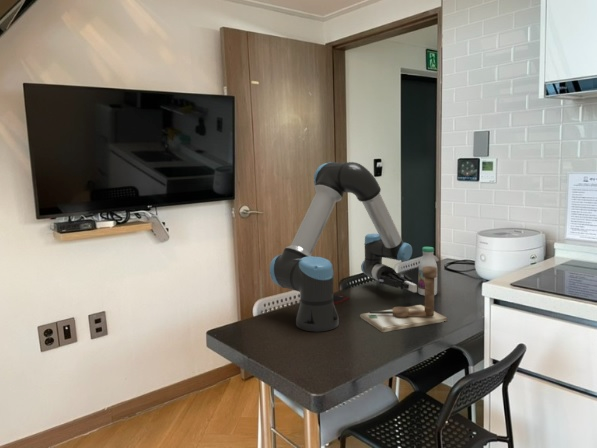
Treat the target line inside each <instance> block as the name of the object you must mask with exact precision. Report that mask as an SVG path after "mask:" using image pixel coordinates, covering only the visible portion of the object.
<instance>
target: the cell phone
mask: <svg viewBox="0 0 597 448" xmlns="http://www.w3.org/2000/svg"><path fill="white" fill-rule="evenodd" d="M349 298H350V297H349V296H346V295H345V296H344V295H341V294H336V293H333V303H334V306H335V305H337V304H339V303H341V302H344V301H347V300H349Z"/></svg>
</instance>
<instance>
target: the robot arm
mask: <svg viewBox="0 0 597 448" xmlns="http://www.w3.org/2000/svg"><path fill="white" fill-rule="evenodd" d="M313 183H314V188H313V189H314V191H315V194H314V196H313V198H312V200H311V202H310V205H309V207H308V209H307V211H306V213H305V215H304V218H303V219H302V221H301V223H300V225H299V227H298V230H297V232H296V234H295V236H294V238H293V240H292V242H291V244H290V245H289V246H286V247H284V249H283V251H282V253H281V254H278V255H276V256H275V257H273V259H272V260H271V262H270V265H269V275H270V279H271V280H272V282H273V283H274V284H275V285H277V286H279V287H281V288H283V289H288V290H293V291H295V292H299V296H300V300H299V301H300V302H299V303H300V304H299V307H298V311H297V314H296V318H295V324H296V325H295V326H296V327H297V328H298V329H301V330H303V331H307V332H327V331H331V330H333V329H335V328H337V327H338V326H339V323H340V322H339V321H340V319H339V318H340V317H339V315H338V312H337V309H336V306H335V305H334V303H333V295H334V268H333V263H332V262H331V260H329V259H327V258H324V257H321V256H312V254H313V252H314V250H315V247H316V246H317V243H318V242H319V239H320V238H321V235H322V233H323V231H324V228H325V226H326V225H327V221H328V220H329V218H330V216H331V213H332V211H333V209H334V207H335V206H336V203H337V202H341V200H342V199H343V197H344V195H345V193H350V194H353V195H355V196H356V199H357V200H358V201H359V202H360V203H361V202H362V204H363V206H364V209H365V210H366V212H367V214H368V217H369V219H370V220H371V222H372V224H373V226H374V227H375V230H376V232H377V233H367V234H365V236H364V244H363V245H364V260H363V261H362V263H361V264H360V265H361V266H360V270H361V271H362V273H363V274H364V275H366V277H368V278H371V279H372V280H373V279H374V280H376V281H378V282H379V284H383V285H386V286H389V287H393V288H395V289H399V288H400V290H401V291H403V290H404V289H406V290H408V291H410V292H412V293H418V285H417V284H416V283H414V282H413V278H411V277H410V276H409V275H408V274H407V273H404V274H400V273H397V272H396V270H395V269H394V268H393V267H390V266H388V265H386V264H383V258H386V259H390V260H396V261H403V262H406V261H409V260H410V259H411V257H412V254H413V247H412V245H411V244H409V243H407V242H404V240H403V239H402V236H401V235H400V233H399V231H398V229H397V227H396V224H395V222H394V220H393V219H392V216H391V214H390V211H389V210H388V207H387V205H386V203H385V201H384V200H383V196H382V195H381V191H382V190H381V187H380V185H379V182H378V181H377V178H375V176H374V174H372V173H371V172H370V170H369V169H368V168H366V167H365V166H364V165H362V164H361V163H358V162H353V161H348V162H347V161H346V162H336V161H335V162H334V161H329V162H326V163H322V164H321V165H319V166H318V168H316V170H315V172H314V176H313Z"/></svg>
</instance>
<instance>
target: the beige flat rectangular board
mask: <svg viewBox="0 0 597 448" xmlns="http://www.w3.org/2000/svg"><path fill="white" fill-rule="evenodd" d="M405 307H406V308H408V309H409V310H421V311H425V305H422V304H415V305H411V306H405ZM383 311H393V308H391V309H385V310H383ZM359 316H360V318H361V319H362V320H363V321H365V322H367V323H368V324H370V325H371V326H372V327H373V328H375V329H377V330H378V331H380V332H381V333H387V332H391V331H397V330H403V329H409V328H415V327H421V326H426V325H434V324H439V323H444V321H445V322H448V317H446V316H445V315H443V314H441V313H438V312H436V311H435V310H434V316H410V315H408V316H407V317H396V316H394V315H393V314H373V313H370V312H366V313H360V315H359Z"/></svg>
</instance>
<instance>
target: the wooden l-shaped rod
mask: <svg viewBox="0 0 597 448" xmlns="http://www.w3.org/2000/svg"><path fill="white" fill-rule="evenodd" d="M423 277H425V296H424V307H425V311H421V310H409V309H408V308H406V307H407V306H394V307H392V309H393V311H384V310H369V313H373V314H393V315H394V316H396V317H407V316H408V315H410V316H434V311H435V295H434V278H436V277H437V278H438V267H437V268H436V267H432V266H426V267H423Z"/></svg>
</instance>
